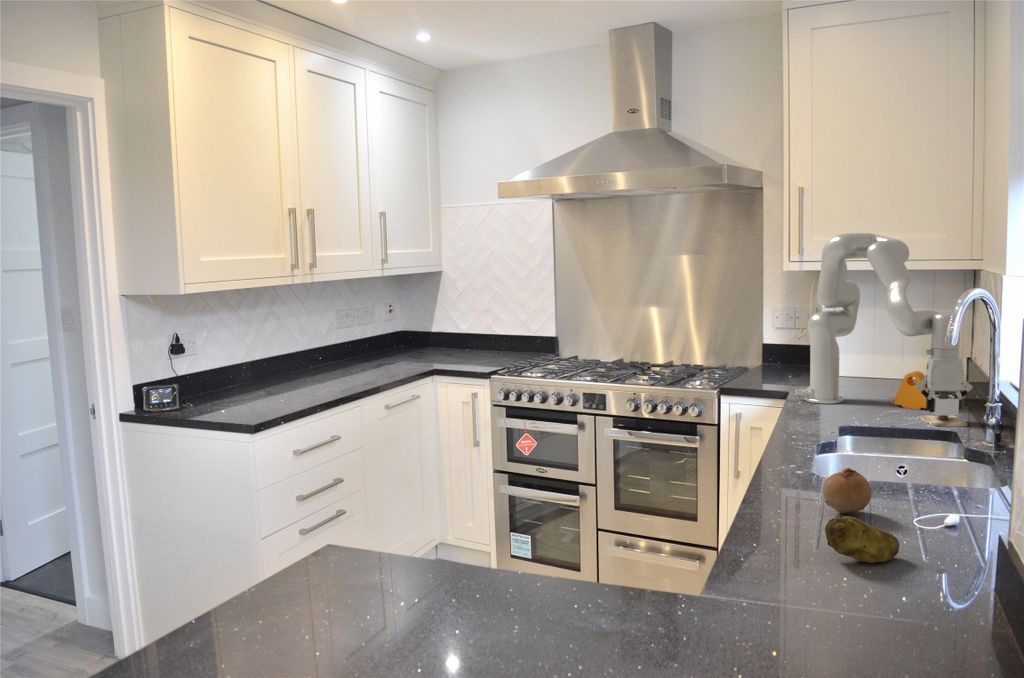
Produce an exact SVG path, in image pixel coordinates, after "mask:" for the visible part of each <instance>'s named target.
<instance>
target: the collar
mask: <svg viewBox="0 0 1024 678" xmlns="http://www.w3.org/2000/svg"><path fill="white" fill-rule="evenodd" d="M932 399H933V400H934V403H933V412H930V413H931V414H933V416H939V415H948V416H956V417H958V416H959V413H960V409H959V399H958V398H956V397H954V396H952V395H949V397H948V398H939V395H933V397H932Z"/></svg>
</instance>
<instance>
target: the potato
mask: <svg viewBox="0 0 1024 678" xmlns="http://www.w3.org/2000/svg"><path fill="white" fill-rule="evenodd" d="M824 533H825V538H826V540H827V543H826V544H827V545H828V546H829V547H831V548H832V549H833V550H834V551H835V552H836V553H838V554H839V555H842V556H846V557H850V558H852V559H854V560H855V561H858V560H859V561H858V562H861V561H863V562H862V563H864V562H872V563H871V564H874V563H873V562H882V563H885V562H888V561H891V560H892V559H893V558H895V557H896V556H897V555H898V553H899V551H900V541H899V540H898V538H897V537H896V536H895V535H894V534H892V533H890V532H889V531H887V530H884V529H881V528H879V527H875V526H872V525H871V524H868V523H867V522H864V521H862V520H861V519H860V518H859V519H858V518H856V517H853V516H847V515H846V516H845V515H841V516H837V517H834V518H831V519H829V520H828V522H827V523H826V524H825V528H824Z"/></svg>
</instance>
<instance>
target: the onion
mask: <svg viewBox="0 0 1024 678" xmlns="http://www.w3.org/2000/svg"><path fill="white" fill-rule="evenodd" d="M822 493H823V497H824V499H825V500H824V502H825V504H826V505H827V506H828V507H830V508H833V510H835V512H838V513H840V514H846V513H847V514H853V513H854V514H855V513H857V512H859V511H863V510H864V509H865V508H866V507H867V506H868V505H869V503H870V502H871V498H872V495H873V494H872V487H871V484H870V483H869V481H868V480H867V479H866V477H864V476H863V475H862V474H861V473H859V472H858V471H857V470H855V469H851V467H846V468H844V469H842V470H841V471H839V472H836V473H833V474H831V475H830V476H828V477H827V479H826V481H825V482H824V484H823V488H822Z"/></svg>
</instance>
